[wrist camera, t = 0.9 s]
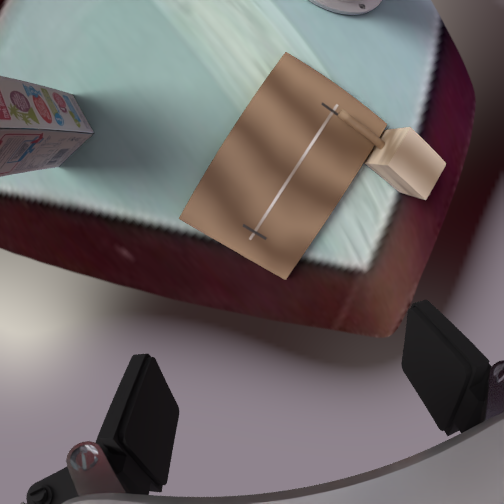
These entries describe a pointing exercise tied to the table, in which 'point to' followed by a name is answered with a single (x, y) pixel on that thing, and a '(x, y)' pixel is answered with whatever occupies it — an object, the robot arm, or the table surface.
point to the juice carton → (38, 126)
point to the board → (282, 167)
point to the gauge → (401, 158)
